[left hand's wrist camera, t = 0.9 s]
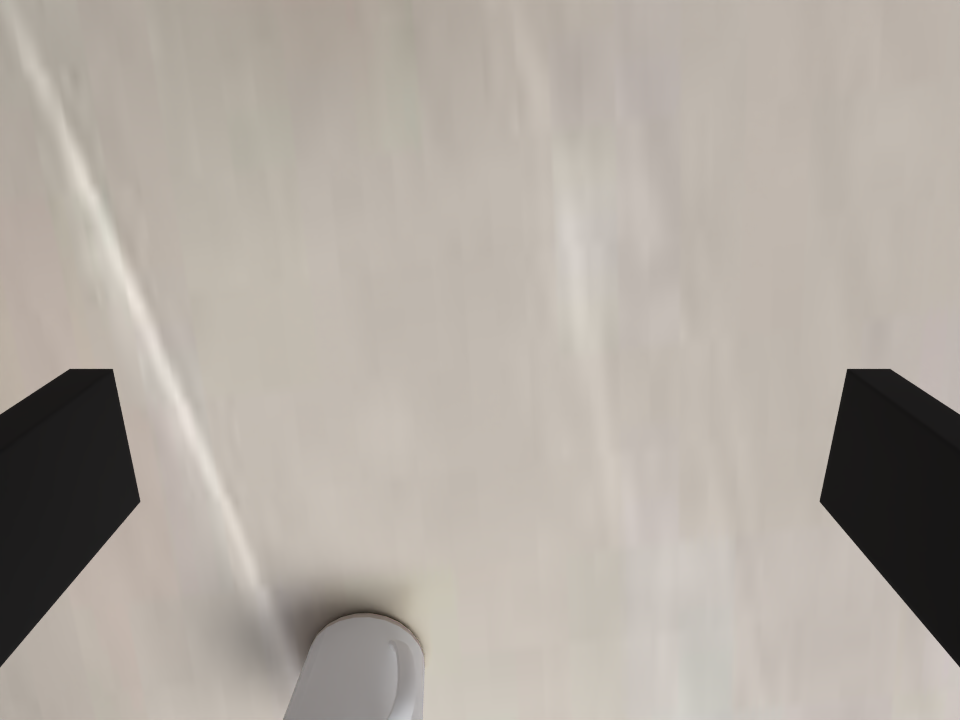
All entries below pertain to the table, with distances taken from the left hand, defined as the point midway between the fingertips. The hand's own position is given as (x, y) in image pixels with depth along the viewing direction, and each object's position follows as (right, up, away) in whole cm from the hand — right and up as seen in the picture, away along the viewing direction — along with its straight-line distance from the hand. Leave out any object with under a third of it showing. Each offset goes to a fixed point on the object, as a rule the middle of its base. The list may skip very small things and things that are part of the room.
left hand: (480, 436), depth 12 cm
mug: (-7, -19, +35) cm, 40 cm away
